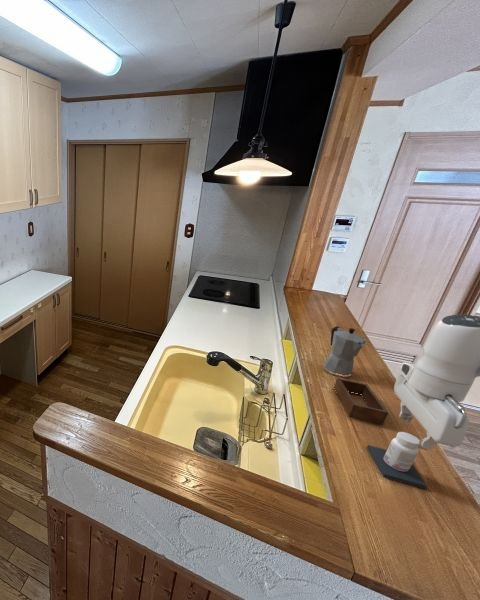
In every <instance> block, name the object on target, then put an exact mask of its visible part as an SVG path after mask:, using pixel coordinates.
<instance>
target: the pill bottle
mask: <svg viewBox="0 0 480 600" xmlns="http://www.w3.org/2000/svg"><path fill="white" fill-rule="evenodd" d="M419 441H420V438H417V436H414V435H413V434H411V433H408V432H405V431H399V432H397V434H396V436H395V437H394V438H392V439H391V441H390V443H389V444H388V447H387V449H386V450H387V451H386V453H385V455H384V461H385V462H386V463H387V464H388V465H389V466H391V467H392V468H394V469H396V470H399V471H404V472H405V471H408V470H409V469H410V467H411V465H413V463H414V462H415V459H416V457H417V456H418V454H419V451H420V450H419V447H420V446H421V445H420V444H419Z"/></svg>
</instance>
